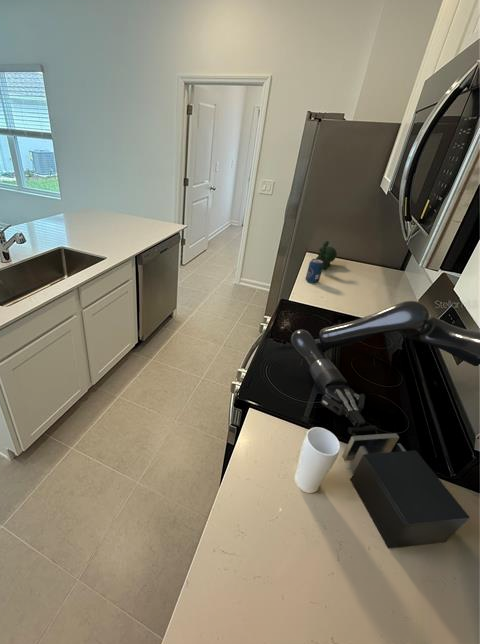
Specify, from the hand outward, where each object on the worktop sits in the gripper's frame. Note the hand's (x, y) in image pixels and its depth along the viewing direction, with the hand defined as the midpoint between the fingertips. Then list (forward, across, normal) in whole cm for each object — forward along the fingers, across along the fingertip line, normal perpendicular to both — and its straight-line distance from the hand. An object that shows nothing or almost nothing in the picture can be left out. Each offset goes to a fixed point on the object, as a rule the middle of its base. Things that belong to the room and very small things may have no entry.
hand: (361, 426), depth 77 cm
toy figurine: (-116, +50, +6) cm, 126 cm away
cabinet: (+16, 0, +7) cm, 17 cm away
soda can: (-95, +33, +6) cm, 101 cm away
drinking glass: (+9, -17, +7) cm, 20 cm away
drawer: (+8, 0, +6) cm, 10 cm away
